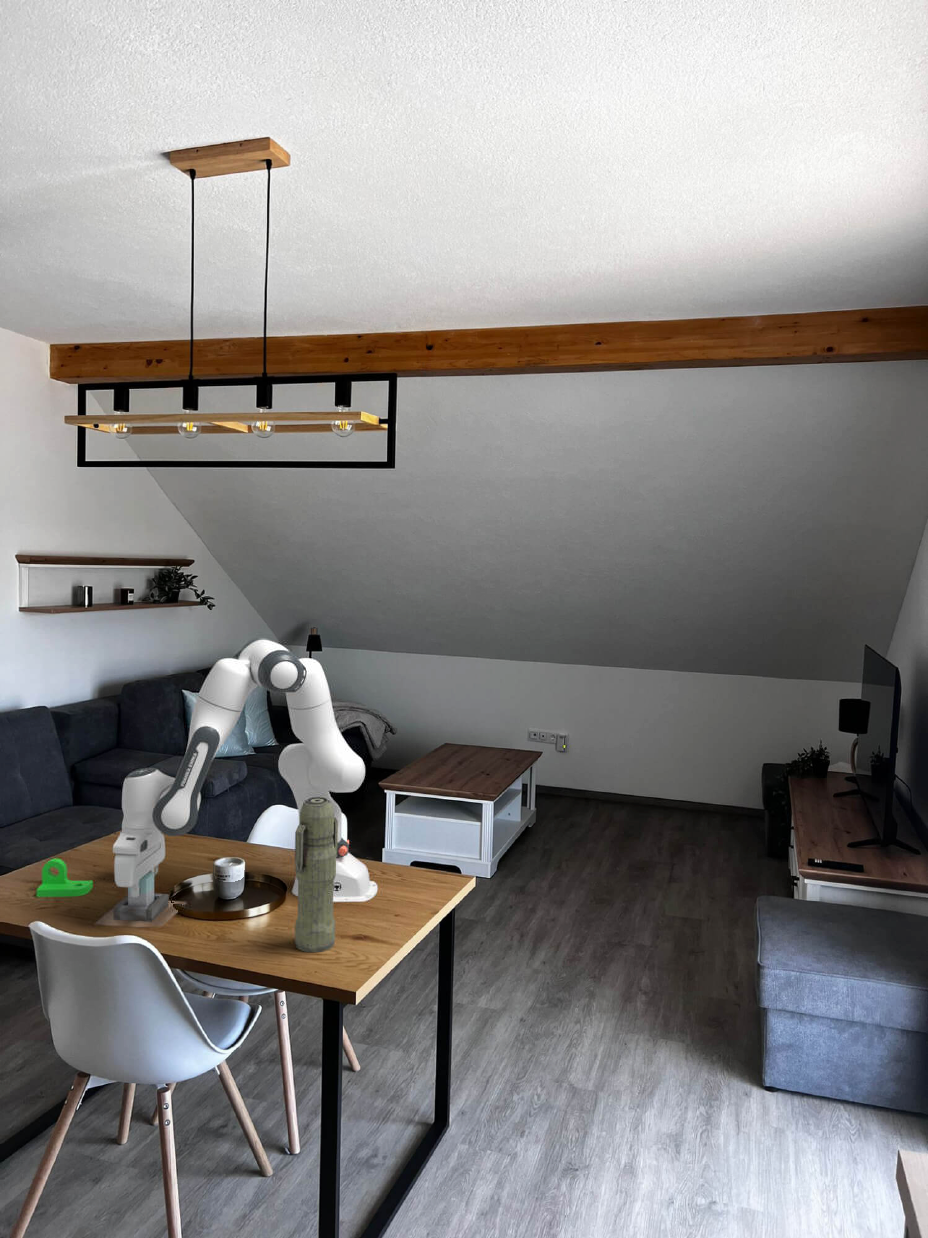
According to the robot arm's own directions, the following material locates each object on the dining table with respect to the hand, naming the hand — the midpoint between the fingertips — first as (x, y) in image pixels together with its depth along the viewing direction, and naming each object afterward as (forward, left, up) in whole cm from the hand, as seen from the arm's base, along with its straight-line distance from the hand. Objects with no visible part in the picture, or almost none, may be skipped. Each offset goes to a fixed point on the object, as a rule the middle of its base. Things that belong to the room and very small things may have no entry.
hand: (141, 891), depth 220 cm
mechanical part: (+26, -12, -7) cm, 29 cm away
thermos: (-46, +12, -7) cm, 48 cm away
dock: (0, 0, -6) cm, 6 cm away
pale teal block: (0, 0, -3) cm, 3 cm away
